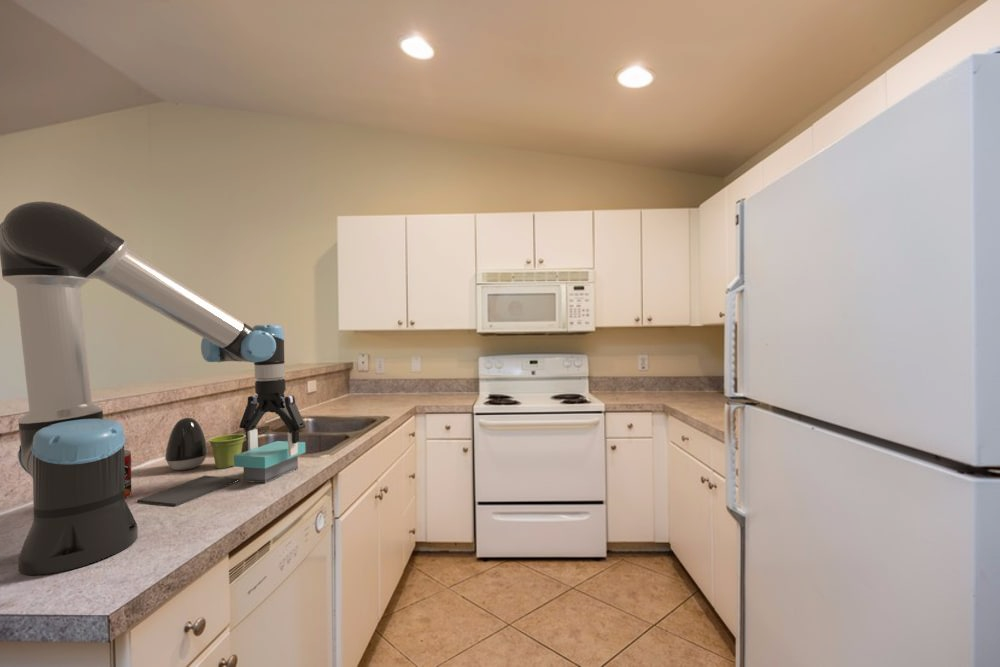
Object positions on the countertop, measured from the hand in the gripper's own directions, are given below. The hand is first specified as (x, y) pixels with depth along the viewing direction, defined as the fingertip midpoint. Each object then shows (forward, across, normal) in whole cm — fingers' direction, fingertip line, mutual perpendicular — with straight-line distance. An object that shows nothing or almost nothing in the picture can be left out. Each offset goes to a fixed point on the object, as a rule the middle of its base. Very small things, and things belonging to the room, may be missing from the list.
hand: (273, 453), depth 115 cm
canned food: (+6, +27, +22) cm, 36 cm away
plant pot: (+6, +21, -5) cm, 23 cm away
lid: (+1, 0, 0) cm, 1 cm away
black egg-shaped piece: (+6, +32, -1) cm, 33 cm away
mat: (+6, +12, +14) cm, 19 cm away
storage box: (+6, 0, 0) cm, 6 cm away
